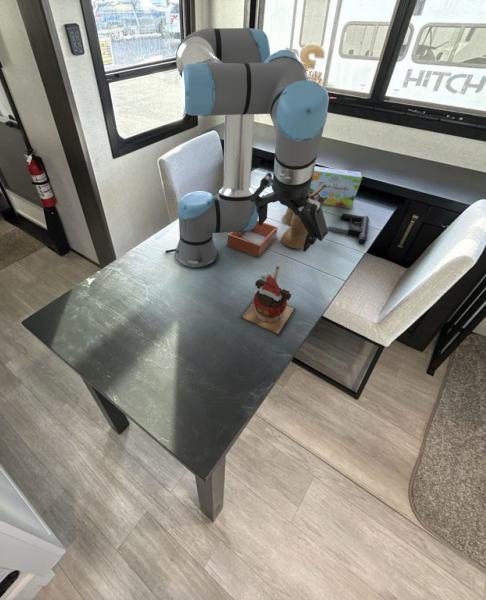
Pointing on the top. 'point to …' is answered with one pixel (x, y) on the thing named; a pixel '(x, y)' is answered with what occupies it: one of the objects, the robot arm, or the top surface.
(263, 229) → the orange square tray
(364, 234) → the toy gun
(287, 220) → the brown watering can
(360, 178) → the snack box
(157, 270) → the top surface
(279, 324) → the cork mat
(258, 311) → the cake
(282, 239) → the tan boot
